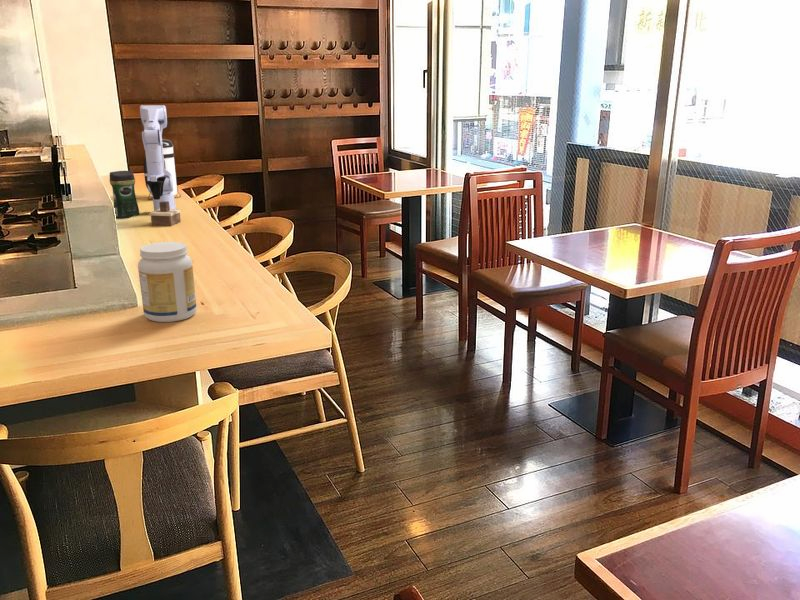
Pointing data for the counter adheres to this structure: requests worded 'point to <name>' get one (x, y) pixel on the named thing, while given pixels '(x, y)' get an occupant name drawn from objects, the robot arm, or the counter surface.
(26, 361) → the counter surface
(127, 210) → the coffee jar
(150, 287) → the supplement tub
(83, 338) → the counter surface
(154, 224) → the box
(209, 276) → the counter surface
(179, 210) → the lid
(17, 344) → the counter surface
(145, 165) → the coffee press
